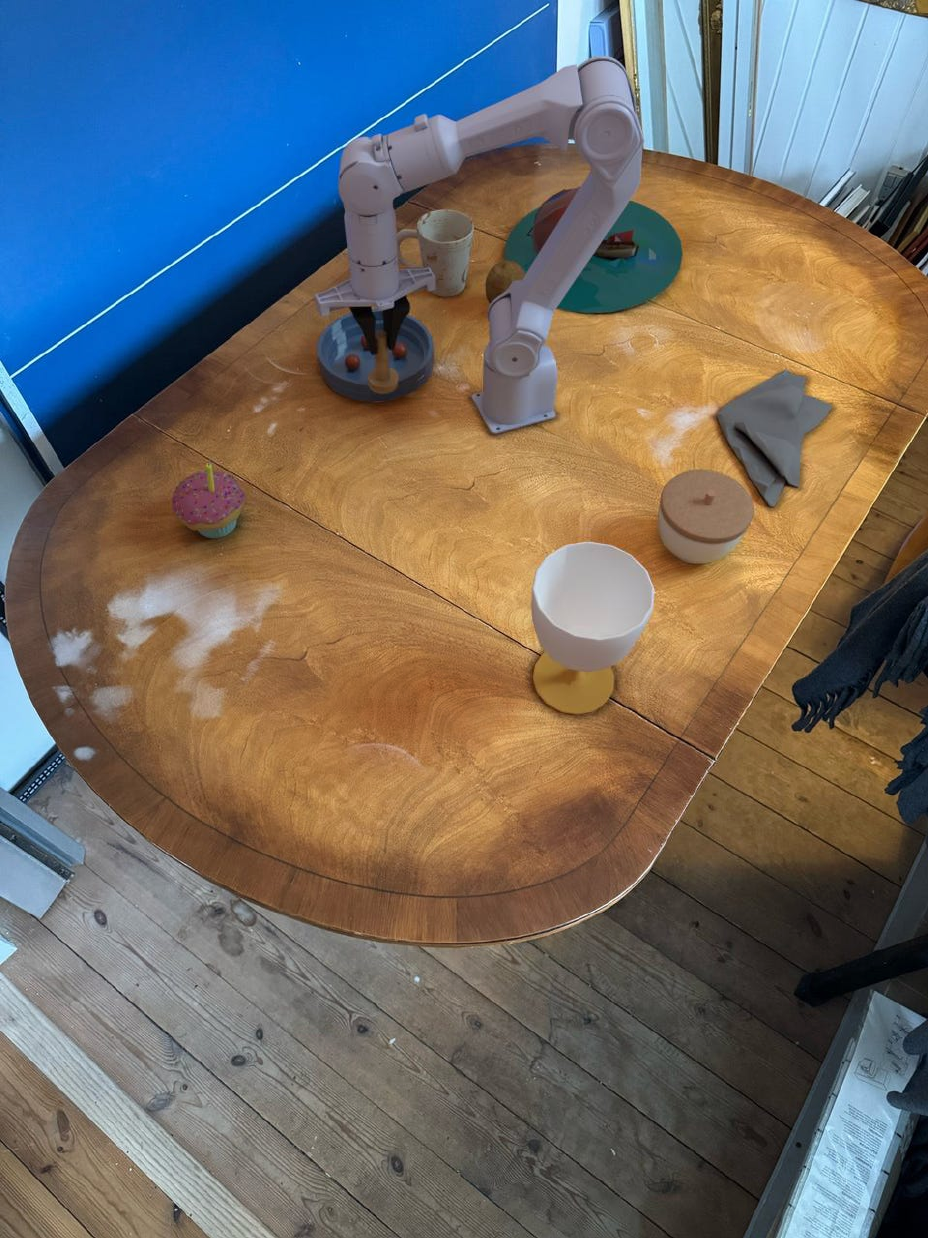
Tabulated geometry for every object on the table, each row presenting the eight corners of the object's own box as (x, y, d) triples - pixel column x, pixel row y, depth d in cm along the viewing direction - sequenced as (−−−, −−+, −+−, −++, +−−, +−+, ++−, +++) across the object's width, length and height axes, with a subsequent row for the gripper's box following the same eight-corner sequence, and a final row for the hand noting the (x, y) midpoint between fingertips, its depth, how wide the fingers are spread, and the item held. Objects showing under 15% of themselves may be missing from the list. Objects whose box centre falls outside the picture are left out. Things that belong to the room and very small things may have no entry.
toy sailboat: (514, 201, 151) (513, 137, 141) (682, 207, 148) (693, 142, 138) (494, 315, 137) (492, 253, 128) (679, 325, 134) (691, 262, 124)
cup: (549, 741, 95) (566, 658, 80) (503, 655, 100) (511, 562, 86) (645, 703, 97) (678, 615, 83) (594, 621, 103) (617, 526, 89)
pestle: (392, 370, 120) (389, 320, 114) (402, 389, 118) (400, 339, 111) (364, 377, 119) (359, 328, 113) (374, 396, 117) (369, 347, 111)
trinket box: (633, 527, 111) (646, 475, 103) (705, 500, 114) (724, 448, 106) (678, 590, 106) (696, 541, 98) (754, 562, 108) (777, 511, 101)
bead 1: (358, 361, 127) (357, 349, 125) (363, 371, 126) (361, 358, 124) (343, 365, 127) (342, 352, 125) (348, 375, 125) (346, 362, 124)
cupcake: (262, 508, 112) (244, 439, 102) (231, 559, 108) (208, 492, 98) (201, 491, 114) (177, 421, 104) (168, 540, 109) (139, 472, 99)
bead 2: (374, 340, 130) (372, 328, 128) (378, 350, 128) (377, 337, 127) (359, 344, 129) (358, 331, 127) (364, 353, 128) (362, 341, 126)
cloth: (749, 359, 129) (754, 346, 127) (843, 391, 125) (849, 378, 124) (684, 474, 116) (687, 461, 114) (785, 514, 113) (791, 502, 111)
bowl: (411, 318, 133) (410, 298, 130) (450, 387, 125) (450, 368, 122) (306, 343, 130) (303, 323, 127) (339, 416, 122) (336, 396, 119)
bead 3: (404, 350, 129) (404, 337, 127) (409, 359, 127) (409, 347, 126) (390, 353, 128) (389, 341, 126) (395, 363, 127) (394, 350, 125)
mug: (466, 305, 135) (467, 245, 127) (386, 294, 137) (382, 234, 128) (477, 272, 140) (478, 212, 131) (399, 262, 141) (396, 202, 133)
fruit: (533, 313, 134) (538, 266, 128) (500, 328, 132) (502, 281, 126) (509, 292, 137) (512, 245, 130) (476, 306, 135) (477, 259, 128)
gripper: (322, 285, 99) (335, 381, 110) (444, 257, 102) (444, 353, 113) (304, 250, 103) (319, 346, 114) (422, 224, 106) (425, 319, 117)
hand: (380, 347), depth 114 cm, fingers closed on pestle, 2 cm apart
